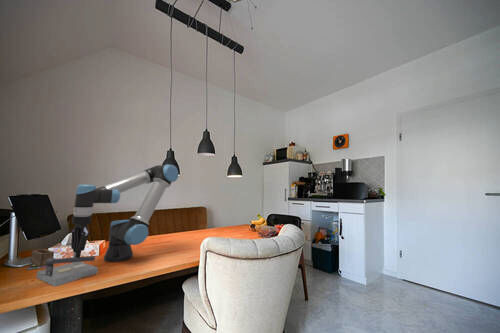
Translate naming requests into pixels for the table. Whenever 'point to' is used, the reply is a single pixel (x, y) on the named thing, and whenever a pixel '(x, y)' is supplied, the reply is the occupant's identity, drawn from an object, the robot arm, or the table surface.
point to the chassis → (65, 273)
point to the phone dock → (41, 257)
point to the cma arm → (69, 260)
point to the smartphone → (34, 267)
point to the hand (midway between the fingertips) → (75, 265)
